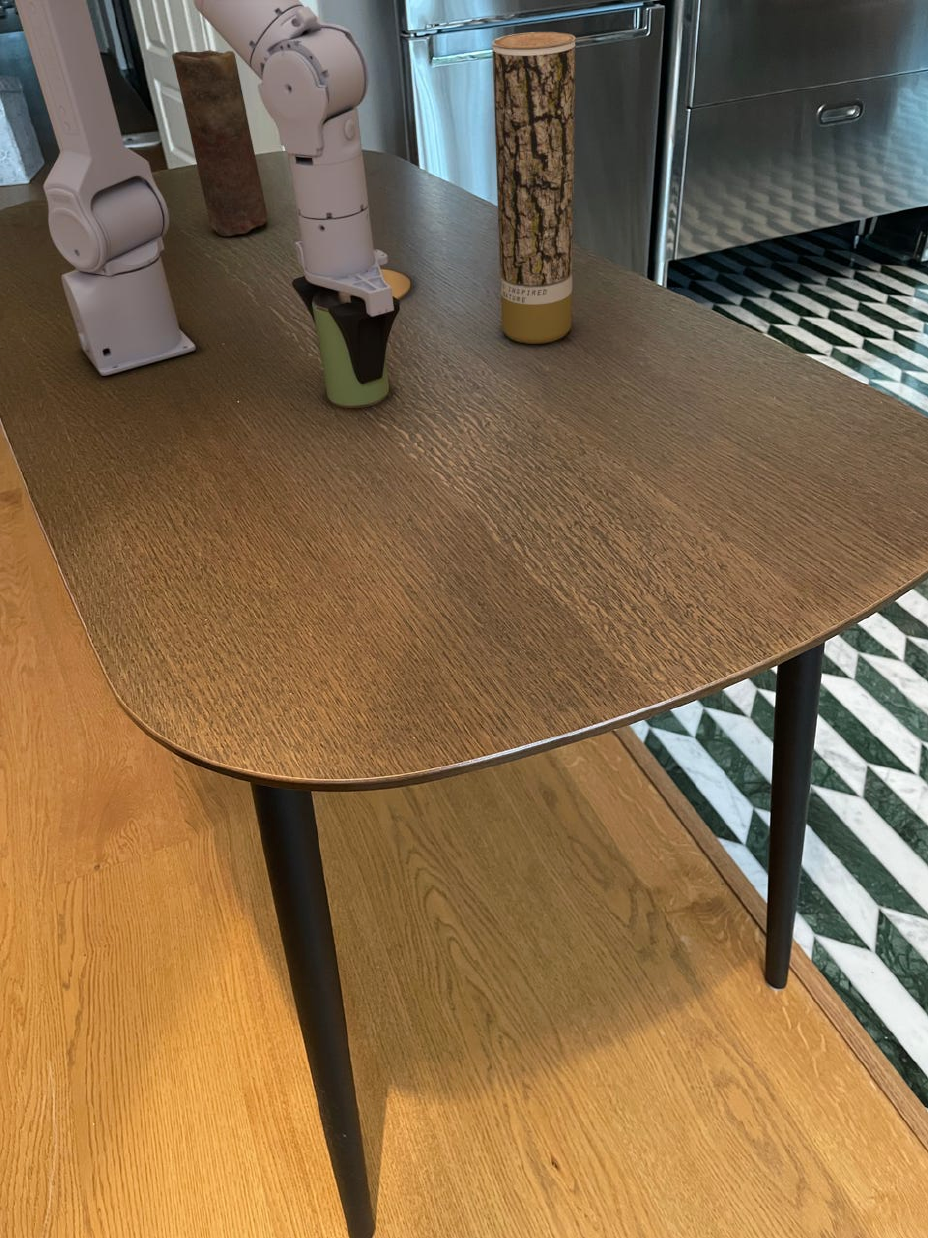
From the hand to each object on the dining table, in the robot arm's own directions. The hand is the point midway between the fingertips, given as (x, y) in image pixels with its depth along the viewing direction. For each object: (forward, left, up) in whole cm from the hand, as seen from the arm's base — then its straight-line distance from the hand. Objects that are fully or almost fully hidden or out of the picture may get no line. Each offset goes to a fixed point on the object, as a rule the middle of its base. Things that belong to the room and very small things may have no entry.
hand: (354, 367), depth 85 cm
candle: (+8, +51, -3) cm, 52 cm away
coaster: (+11, +22, -3) cm, 25 cm away
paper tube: (+20, +1, -3) cm, 20 cm away
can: (0, 0, -3) cm, 3 cm away
